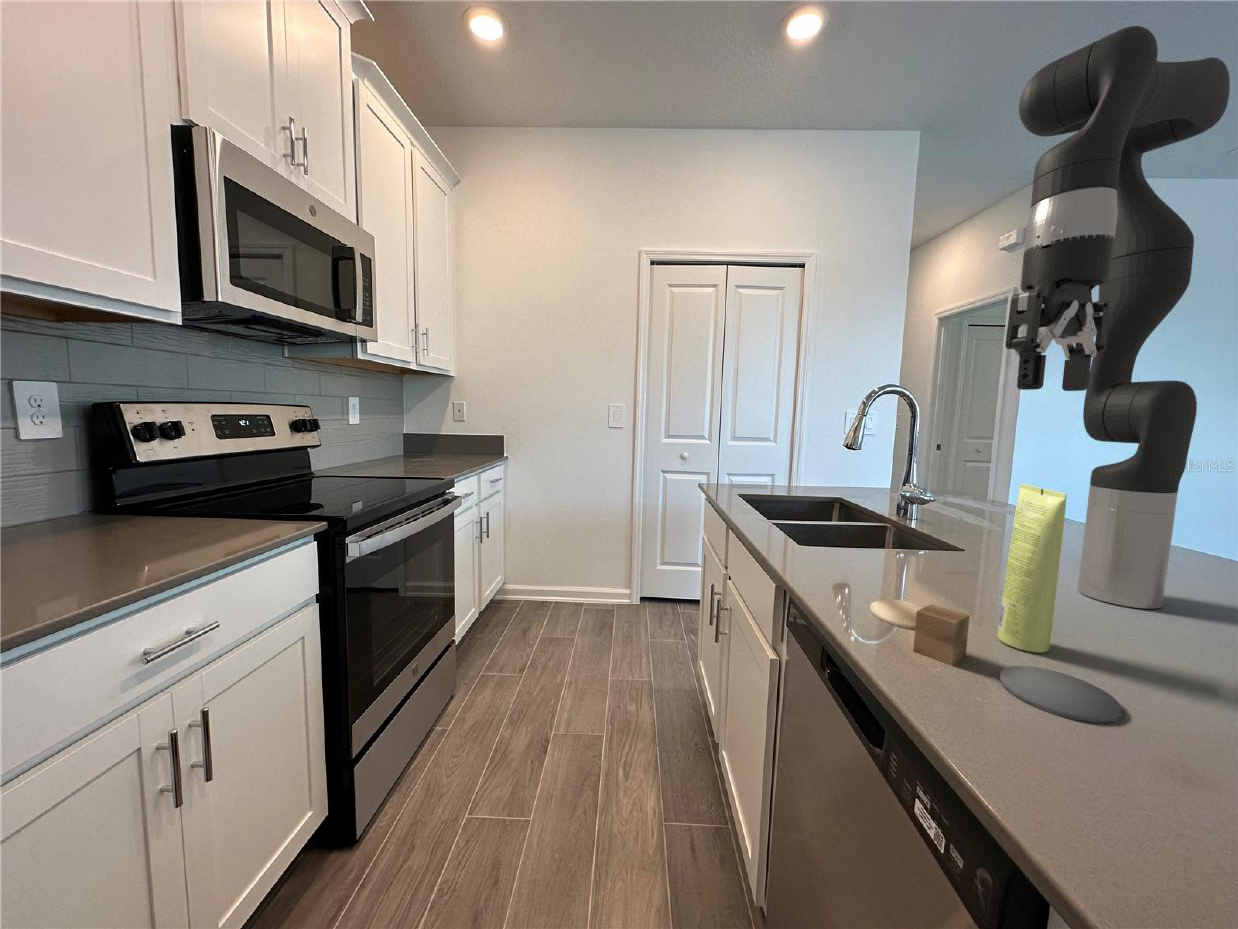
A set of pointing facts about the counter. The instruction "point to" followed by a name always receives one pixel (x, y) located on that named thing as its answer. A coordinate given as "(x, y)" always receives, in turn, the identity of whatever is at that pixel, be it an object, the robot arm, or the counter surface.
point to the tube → (1032, 569)
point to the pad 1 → (896, 612)
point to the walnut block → (941, 634)
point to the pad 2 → (1060, 694)
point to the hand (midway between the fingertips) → (1052, 390)
